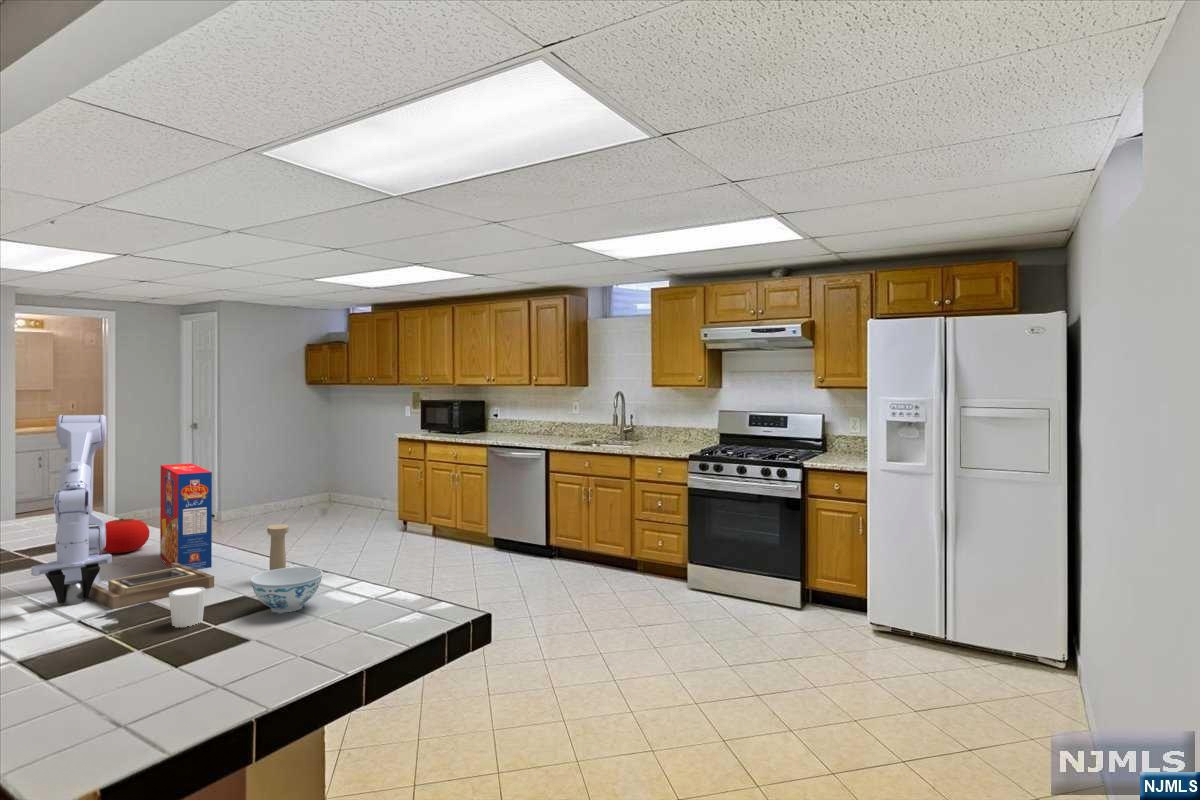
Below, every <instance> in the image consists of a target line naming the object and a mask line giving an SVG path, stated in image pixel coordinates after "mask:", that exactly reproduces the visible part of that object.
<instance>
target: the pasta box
mask: <svg viewBox="0 0 1200 800" xmlns="http://www.w3.org/2000/svg"><path fill="white" fill-rule="evenodd" d="M212 476H213V472H212V471H211V470H208V469H206V468H203V467H202V466H201V467H200V466H198V465H196V464H194V463H176V464H160V484H159V485H160V486H159V487H160V501H159V502H160V503H159V504H160V518H159V519H160V520H159V521H160V523H159V524H160V527H159V528H160V529H159V530H160V533H159V534H160V537H159V538H160V540H159V541H160V542H159V543H160V544H159V545H160V546H159V547H160V548H159V551H160V552H159V555H160V557H161V558H162V559H163V560H164V561H165V562H166V563H165V562H164V561H163V560H162V559H161V558H160V559H161V560H162V561H163V562H164V563H165V565H166V566H167V567H168V566H169V567H170V568H169V567H168V568H169V569H171V563H175V562H176V563H179V564H182V565H185V566H187V567H190V568H193V569H196V570H202V569H203V570H204V569H208V568H209V569H210V568H212V565H213V564H212V557H213V556H212V555H213V554H212V548H213V547H212V545H213V543H212V542H213V539H212V538H213V537H212V536H213V535H212V533H213V531H212V529H213V527H212V525H213V520H212V519H213V518H212V517H213V516H212V515H213V514H212V513H213V509H212V507H213V506H212V505H213V503H212V502H213V499H212V498H213V495H212V493H213V492H212V491H213V485H212V483H213V477H212Z"/></svg>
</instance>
